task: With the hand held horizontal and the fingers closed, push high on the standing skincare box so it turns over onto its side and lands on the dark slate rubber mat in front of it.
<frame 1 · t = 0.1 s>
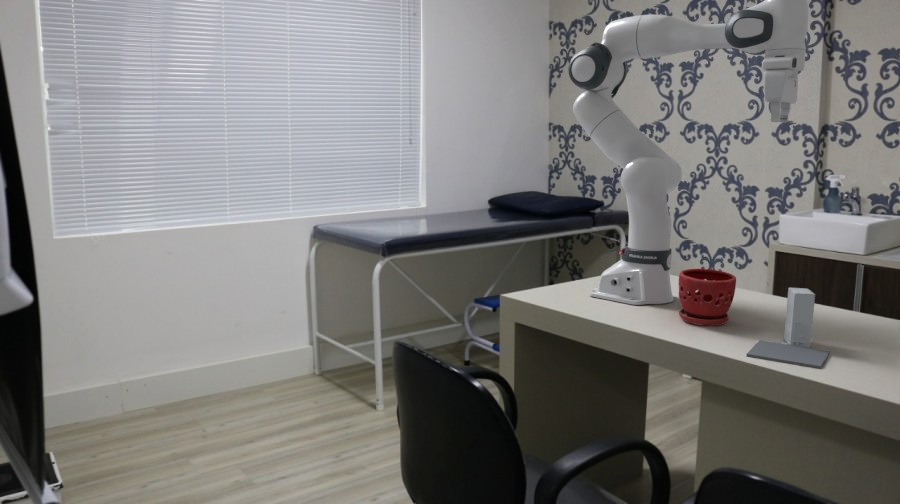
hand: (779, 122, 179), 48 cm above the table, tool pointing down, fingers open, 8 cm apart
skincare box: (796, 344, 163), on the table
plant pot: (704, 322, 181), on the table
slate mat: (788, 354, 155), on the table
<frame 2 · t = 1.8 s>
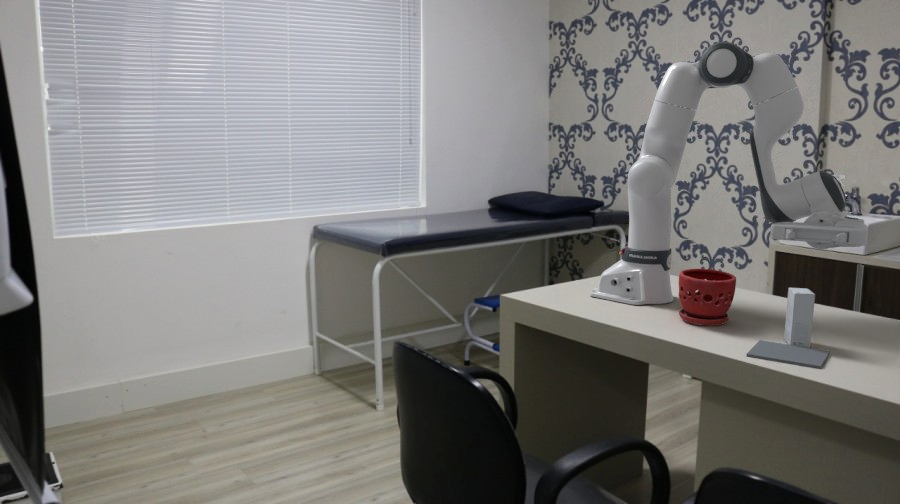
hand: (812, 237, 166), 22 cm above the table, tool horizontal, fingers open, 8 cm apart
nothing on the table moved.
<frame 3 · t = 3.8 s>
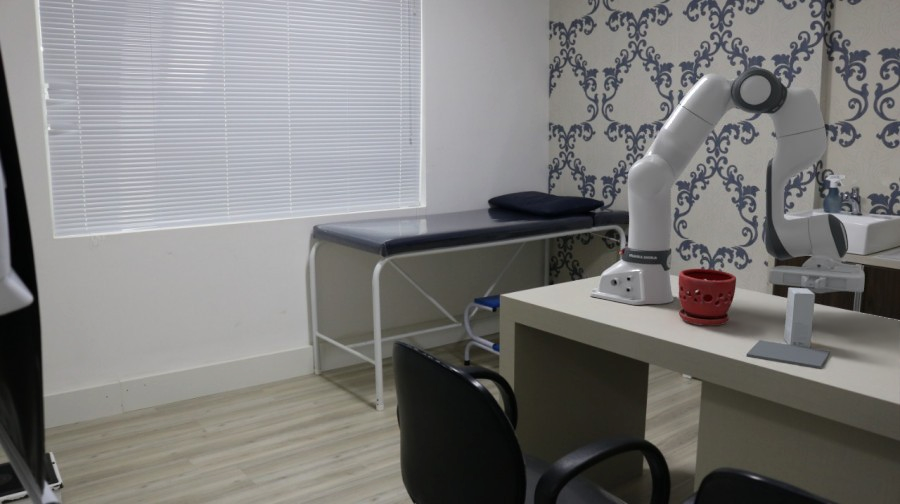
hand: (810, 284, 168), 12 cm above the table, tool horizontal, fingers closed
nothing on the table moved.
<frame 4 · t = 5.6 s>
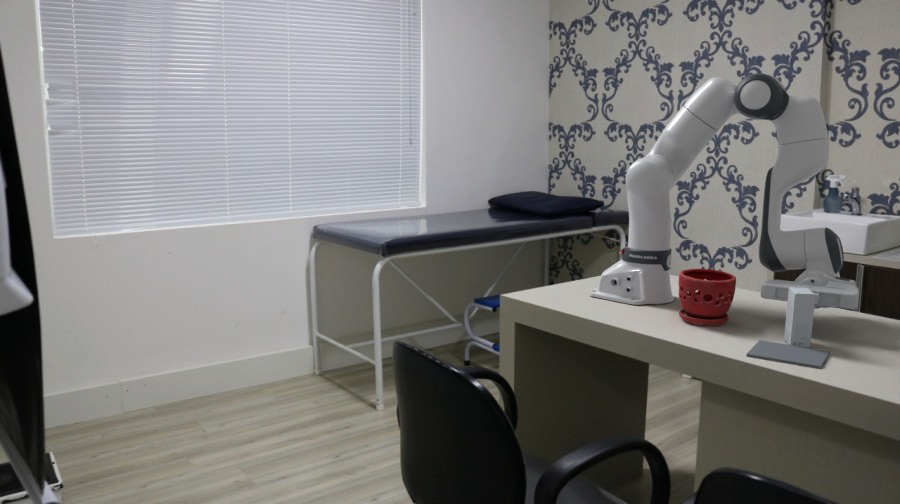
hand: (803, 300, 164), 9 cm above the table, tool horizontal, fingers closed
skincare box: (796, 344, 163), on the table, touching gripper
everything else where it was.
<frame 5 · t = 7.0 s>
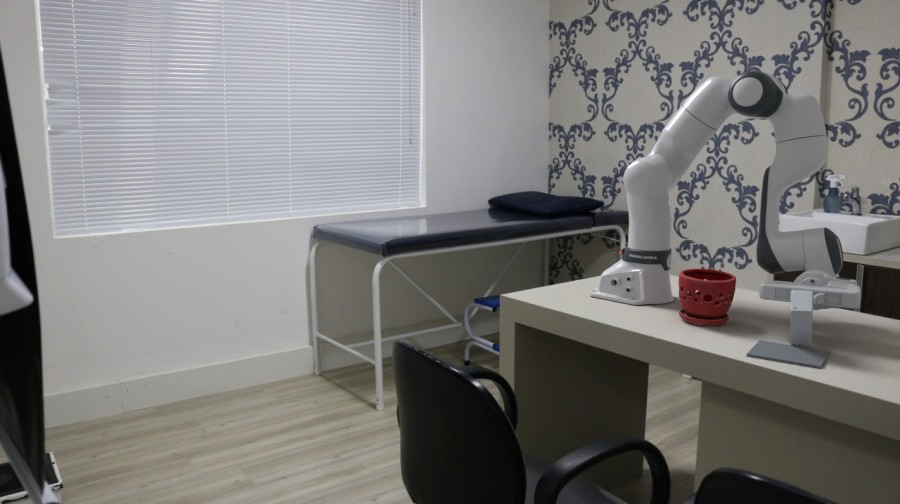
hand: (804, 299, 158), 11 cm above the table, tool horizontal, fingers closed
skincare box: (801, 337, 162), point 2 cm above the table, touching gripper, slate mat
everything else where it was.
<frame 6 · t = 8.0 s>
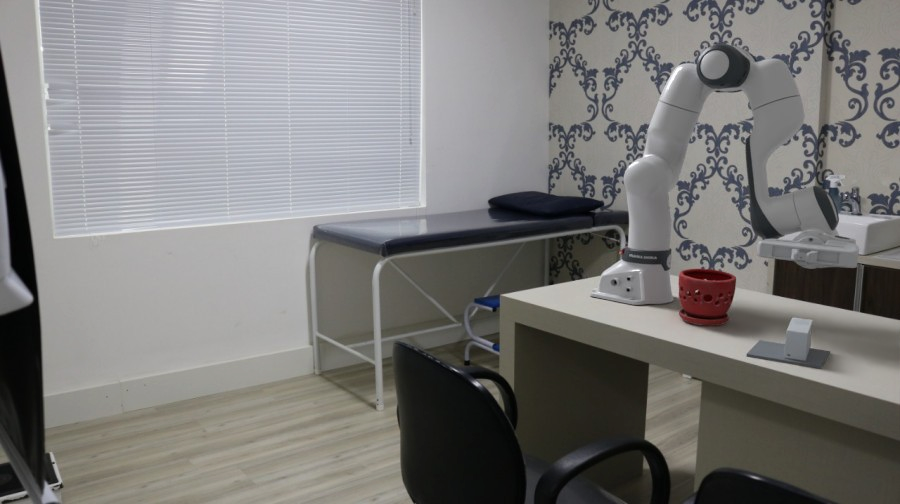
hand: (801, 257, 158), 20 cm above the table, tool horizontal, fingers closed
skincare box: (801, 330, 160), point 4 cm above the table, touching slate mat
everything else where it was.
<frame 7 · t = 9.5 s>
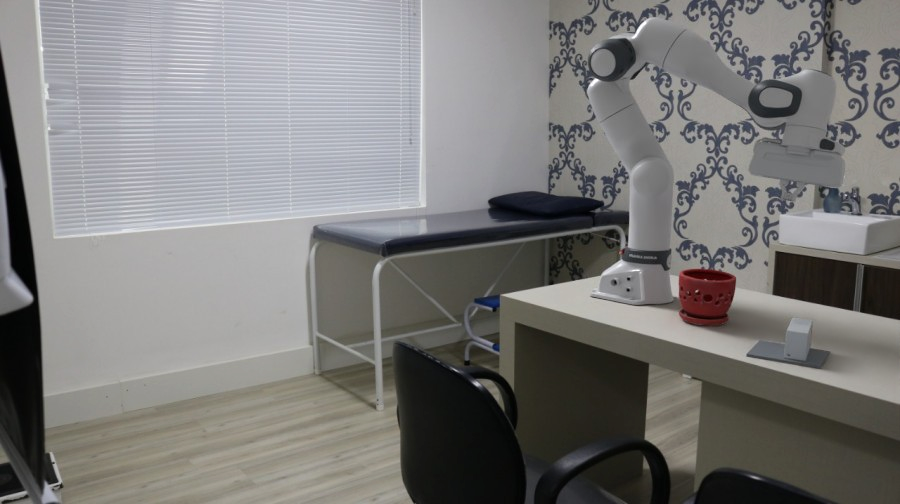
hand: (787, 200, 172), 30 cm above the table, tool pointing down, fingers closed
nothing on the table moved.
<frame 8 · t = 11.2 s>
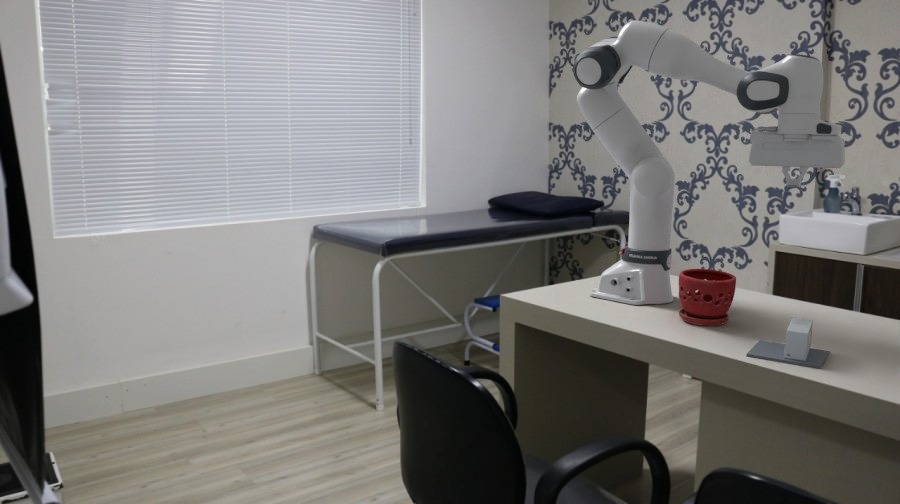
hand: (793, 186, 174), 33 cm above the table, tool pointing down, fingers closed
nothing on the table moved.
at the end: skincare box tilted 91°; skincare box touching slate mat; skincare box inside the target area on the slate mat (3.6 cm from its centre), point 3.6 cm above the slate mat's base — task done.
